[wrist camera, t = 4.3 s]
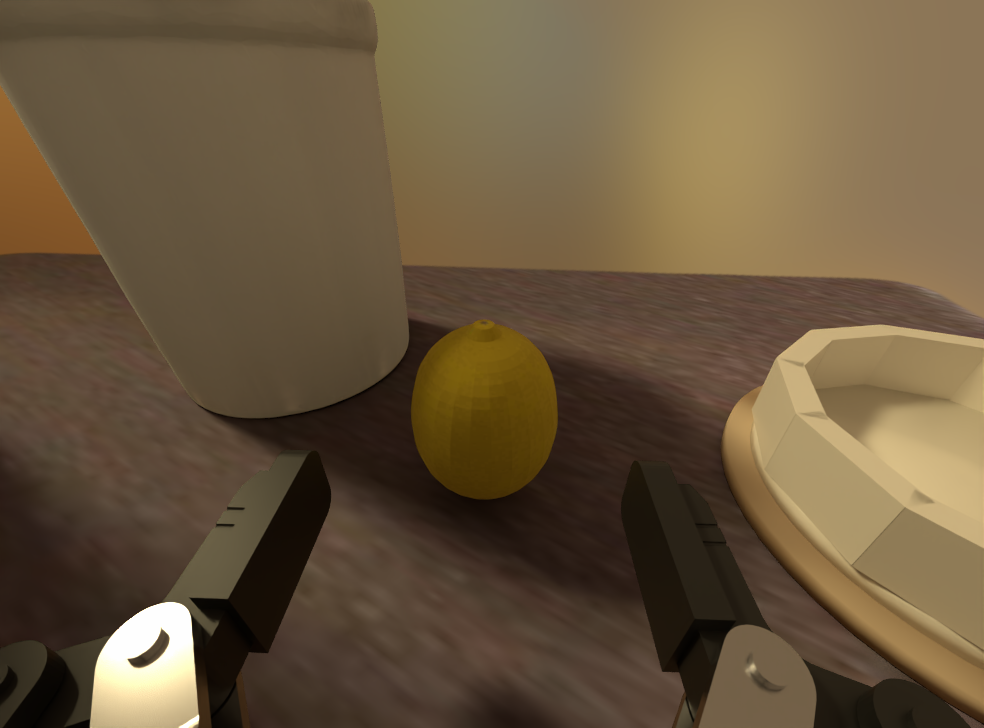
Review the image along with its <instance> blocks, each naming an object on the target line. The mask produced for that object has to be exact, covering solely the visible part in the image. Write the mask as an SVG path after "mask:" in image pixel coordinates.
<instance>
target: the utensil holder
mask: <svg viewBox="0 0 984 728" xmlns="http://www.w3.org/2000/svg"><path fill="white" fill-rule="evenodd" d="M377 42H378V36H377V25H376V19H375V13H374V10H373V7H372V5H371V3H370V2H369V1H368V0H0V85H1V87H2V88H3V90H4V92H5V93H6V95H7V97H8V99H9V100H10V102H11V104H12V106H13V107H14V109H15V110H16V112H17V114H18V116H19V117H20V119H21V121H22V123H23V124H24V126H25V128H26V129H27V131H28V133H29V134H30V136H31V138H32V139H33V141H34V143H35V144H36V146H37V148H38V150H39V151H40V153H41V154H42V156H43V158H44V160H45V161H46V163H47V165H48V166H49V168H50V170H51V171H52V173H53V175H54V176H55V178H56V180H57V181H58V183H59V185H60V186H61V188H62V190H63V191H64V193H65V195H66V196H67V198H68V200H69V201H70V203H71V205H72V206H73V208H74V209H75V211H76V213H77V215H78V216H79V218H80V219H81V221H82V223H83V224H84V226H85V228H86V229H87V231H88V233H89V234H90V236H91V238H92V239H93V241H94V243H95V244H96V246H97V248H98V250H99V251H100V253H101V255H102V256H103V258H104V260H105V262H106V263H107V265H108V267H109V268H110V270H111V272H112V273H113V275H114V277H115V279H116V280H117V282H118V284H119V285H120V287H121V289H122V290H123V292H124V294H125V296H126V297H127V299H128V300H129V302H130V304H131V305H132V307H133V308H134V310H135V312H136V313H137V315H138V316H139V318H140V320H141V321H142V323H143V324H144V326H145V328H146V329H147V331H148V332H149V334H150V336H151V337H152V339H153V340H154V342H155V344H156V345H157V347H158V348H159V350H160V352H161V353H162V355H163V356H164V358H165V359H166V361H167V362H168V364H169V366H170V367H171V369H172V370H173V372H174V374H175V375H176V377H177V379H178V380H179V382H180V383H181V385H182V386H183V388H184V389H185V391H186V392H187V394H188V395H189V396H190V397H191V398H192V400H194V401H195V402H196V403H197V404H198V405H200V406H202V407H203V408H205V409H207V410H210V411H212V412H215V413H218V414H222V415H226V416H231V417H238V418H273V417H280V416H286V415H292V414H298V413H302V412H306V411H311V410H315V409H319V408H322V407H326V406H329V405H332V404H334V403H337V402H339V401H342V400H344V399H347V398H349V397H352V396H354V395H356V394H358V393H360V392H362V391H364V390H365V389H367V388H369V387H371V386H372V385H374V384H375V383H377V382H378V381H380V380H381V379H382V378H384V377H385V376H386V375H388V374H389V373H390V372H391V371H392V370H393V369H394V368H395V367H396V366H397V365H398V363H399V362H400V361H401V359H402V358H403V356H404V354H405V352H406V350H407V347H408V343H409V325H408V317H407V308H406V299H405V289H404V280H403V270H402V261H401V252H400V245H399V236H398V229H397V221H396V214H395V206H394V198H393V191H392V183H391V175H390V168H389V160H388V153H387V145H386V138H385V131H384V123H383V116H382V109H381V102H380V95H379V88H378V81H377V74H376V67H375V59H374V54H375V51H376V48H377Z"/></svg>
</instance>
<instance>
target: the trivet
mask: <svg viewBox="0 0 984 728" xmlns="http://www.w3.org/2000/svg"><path fill="white" fill-rule="evenodd" d="M762 387H763V386H760V387H758V388H756V389H754V390H752V391H751V392H749V393H748V394H746V395H745V396H743V397H742V399H741V400H740V401H739V402H738V403H737V404H736V405H735V407H734V408H733V410H732V412H731V414H730V416H729V418H728V420H727V423H726V425H725V427H724V431H723V435H722V439H721V459H722V464H723V469H724V474H725V476H726V479H727V482H728V484H729V487H730V490H731V492H732V494H733V496H734V498H735V500H736V502H737V504H738V506H739V507H740V509H741V511H742V513H743V515H744V517H745V518H746V520H747V521H748V522H749V524H750V525H751V527H752V528H753V530H754V531H755V533H756V534H757V536H758V537H759V538H760V540H761V541H762V543H763V544H764V545H765V546H766V547H767V549H768V550H769V551H770V552H771V553H772V555H773V556H774V557H775V558H776V559H777V561H778V562H779V563H780V564H781V565H782V567H783V568H784V569H785V570H786V571H787V572H788V573H789V574H790V575H791V576H792V577H793V578H794V579H795V580H796V581H797V582H798V583H799V585H800V586H801V587H802V588H803V589H804V590H805V591H806V592H807V593H808V594H809V595H810V596H811V597H812V598H813V599H814V600H815V601H816V602H817V603H819V604H820V605H821V606H822V607H823V608H824V609H825V610H826V611H828V612H829V613H830V614H831V615H832V616H833V617H834V618H835V619H836V620H838V621H839V622H840V623H841V624H842V625H843V626H844V627H845V628H847V629H848V630H849V631H850V632H851V633H852V634H854V635H855V636H856V637H858V638H859V639H860V640H861V641H863V642H864V643H865V644H866V645H868V646H869V647H870V648H872V649H873V650H874V651H875V652H877V653H878V654H879V655H881V656H882V657H883V658H884V659H886V660H887V661H888V662H890V663H891V664H892V665H893V666H895V667H896V668H898V669H899V670H901V671H902V672H903V673H905V674H906V675H908V676H909V677H911V678H912V679H914V680H915V681H917V682H918V683H920V684H921V685H922V686H924V687H925V688H927V689H928V690H930V691H931V692H933V693H934V694H936V695H937V696H939V697H940V698H941V699H943V700H944V701H946V702H948V703H949V704H951V705H953V706H954V707H956V708H958V709H959V710H961V711H963V712H964V713H966V714H968V715H969V716H971V717H973V718H974V719H976V720H978V721H979V722H981V723H983V724H984V670H982V669H980V668H978V667H976V666H974V665H973V664H971V663H969V662H967V661H965V660H963V659H962V658H960V657H959V656H957V655H955V654H954V653H952V652H951V651H949V650H947V649H946V648H944V647H943V646H941V645H939V644H938V643H936V642H935V641H933V640H931V639H930V638H928V637H927V636H925V635H923V634H922V633H920V632H919V631H917V630H916V629H914V628H913V627H912V626H910V625H909V624H907V623H906V622H905V621H903V620H902V619H900V618H899V617H897V616H896V615H895V614H893V613H892V612H890V611H889V610H888V609H886V608H885V607H883V606H882V605H881V604H879V603H878V602H877V601H875V600H874V599H873V598H872V597H870V596H869V595H868V594H867V593H865V592H864V591H863V590H862V589H860V588H859V587H858V586H857V585H856V584H854V583H853V582H852V581H851V580H849V579H848V578H847V577H846V576H844V575H843V574H842V573H841V572H840V571H839V570H838V569H837V568H836V567H835V566H834V565H832V564H831V563H830V562H829V561H828V560H827V559H826V558H825V557H824V556H823V555H822V554H821V553H819V552H818V551H817V550H816V549H815V548H814V547H813V546H812V544H811V543H810V542H809V541H808V540H807V539H806V538H805V537H804V536H803V535H802V534H801V533H800V532H799V531H798V530H797V528H796V527H795V526H794V525H793V524H792V523H791V521H790V520H789V519H788V518H787V516H786V515H785V514H784V512H783V511H782V510H781V509H780V507H779V506H778V505H777V504H776V502H775V500H774V499H773V497H772V496H771V494H770V493H769V491H768V489H767V488H766V486H765V485H764V483H763V481H762V479H761V476H760V474H759V472H758V470H757V468H756V466H755V462H754V459H753V455H752V452H751V445H750V432H751V425H752V422H753V420H754V418H753V414H752V408H753V406H754V404H755V402H756V399H757V397H758V395H759V393H760V391H761V389H762Z"/></svg>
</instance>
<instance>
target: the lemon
mask: <svg viewBox="0 0 984 728" xmlns="http://www.w3.org/2000/svg"><path fill="white" fill-rule="evenodd" d="M411 420H412V427H413V432H414V438H415V443H416V446H417V449H418V452H419V454H420V456H421V458H422V460H423V461H424V463H425V465H426V466H427V468H428V470H429V471H430V473H431V474H432V475H433V476H434V477H435V478H436V479H437V480H438V481H439V482H440V483H441V484H442V485H444V486H445V487H446V488H448V489H449V490H451V491H453V492H455V493H457V494H459V495H461V496H465V497H470V498H474V499H495V498H500V497H505V496H507V495H510V494H512V493H514V492H516V491H519V490H520V489H521V488H522V487H524V486H525V485H526V484H528V483H529V482H530V481H532V480H533V479H534V477H535V476H536V475H537V474H538V472H539V471H540V470H541V468H542V467H543V466H544V464H545V463H546V461H547V459H548V457H549V454H550V451H551V448H552V445H553V442H554V439H555V435H556V430H557V422H558V411H557V397H556V389H555V384H554V380H553V376H552V373H551V371H550V368H549V366H548V364H547V362H546V360H545V358H544V356H543V355H542V353H541V352H540V350H539V349H538V348H537V347H536V346H535V345H534V344H533V343H532V342H531V341H530V340H529V339H527V338H526V337H525V336H523V335H522V334H520V333H518V332H517V331H515V330H513V329H510V328H508V327H505V326H502V325H497V324H494V323H493V322H492V321H490V320H478V321H476V322H474V323H473V324H471V325H467V326H464V327H461V328H458V329H456V330H454V331H452V332H450V333H448V334H447V335H446V336H444V337H443V338H442V339H440V340H439V341H438V342H437V343H435V345H434V346H433V347H432V348H431V349H430V350H429V352H428V353H427V355H426V356H425V358H424V359H423V361H422V363H421V364H420V367H419V369H418V372H417V376H416V380H415V385H414V389H413V395H412V403H411Z"/></svg>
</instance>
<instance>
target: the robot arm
mask: <svg viewBox="0 0 984 728" xmlns="http://www.w3.org/2000/svg"><path fill="white" fill-rule="evenodd" d="M330 503H331V489H330V485H329V483H328V480H327V477H326V474H325V471H324V468H323V465H322V462H321V459H320V456H319V454H318V452H316V451H313V450H284V451H282V452H281V453H280V454H279V455H278V457H277V458H276V460H275V462H274V463H273V465H272V466H271V468H270V470H269V471H259V472H258V473H257V474H256V475H254V476H253V477H252V478H251V479H250V480H249V481H247V482H246V483H245V484H244V485H243V486H242V487H240V489H239V490H238V492H237V493H236V495H235V496H234V498H233V499H232V501H231V502H230V504H229V505H228V507H227V511H224V513H223V514H222V516H221V517H220V519H219V520H218V521H217V523H216V527H215V528H213V529H212V530H211V532H210V533H209V535H208V536H207V538H206V539H205V541H204V542H203V544H202V545H201V547H200V548H199V550H198V551H197V553H196V554H195V555H194V557H193V558H192V560H191V561H190V563H189V564H188V566H187V567H186V569H185V570H184V572H183V573H182V575H181V576H180V578H179V579H178V581H177V582H176V584H175V585H174V587H173V588H172V589H171V591H170V592H169V594H168V595H167V596H166V598H165V599H164V600H163V601H162V602H161V603H160V604H158V605H155V606H152V607H150V608H148V609H146V610H144V611H142V612H140V613H138V614H137V615H135V616H134V617H132V618H131V619H130V620H128V621H127V622H126V623H125V624H123V625H122V626H121V627H120V628H119V629H118V630H117V631H116V632H115V633H114V634H113V635H110V636H106V637H103V638H100V639H96V640H93V641H89V642H86V643H82V644H79V645H75V646H72V647H68V648H65V649H62V650H58V651H55V652H54V651H52V650H51V649H49V648H48V647H46V646H45V645H44V644H42V643H41V642H38V641H33V640H27V641H20V642H16V643H13V644H10V645H7V646H5V647H3V648H1V649H0V728H251V727H250V721H249V715H248V708H247V702H246V696H245V690H244V683H243V677H242V673H241V671H240V670H241V668H242V666H243V664H244V661H245V659H246V657H247V655H248V653H249V652H254V653H268V652H269V649H270V647H271V645H272V642H273V640H274V638H275V635H276V633H277V631H278V628H279V626H280V624H281V621H282V619H283V617H284V614H285V612H286V610H287V607H288V605H289V603H290V600H291V598H292V596H293V593H294V591H295V589H296V586H297V584H298V582H299V579H300V577H301V575H302V572H303V570H304V568H305V565H306V563H307V561H308V558H309V556H310V554H311V551H312V549H313V547H314V544H315V542H316V540H317V537H318V535H319V533H320V530H321V528H322V526H323V523H324V521H325V519H326V516H327V514H328V511H329V508H330ZM621 514H622V521H623V526H624V529H625V533H626V537H627V541H628V544H629V548H630V552H631V556H632V560H633V563H634V567H635V571H636V575H637V578H638V582H639V586H640V590H641V594H642V597H643V601H644V605H645V609H646V612H647V616H648V620H649V624H650V627H651V631H652V635H653V639H654V643H655V646H656V650H657V654H658V658H659V661H660V665H661V669H662V672H679V673H680V676H681V679H682V683H683V686H684V689H685V692H684V694H683V696H682V699H681V702H680V705H679V708H678V711H677V714H676V717H675V720H674V723H673V726H672V728H971V727H970V726H969V725H968V724H967V723H966V722H965V720H964V719H963V718H962V717H961V716H960V715H959V714H958V713H957V712H956V711H955V710H954V709H952V708H951V707H950V706H949V705H948V704H947V703H945V702H944V701H943V700H941V699H940V698H939V697H937V696H936V695H935V694H933V693H931V692H930V691H928V690H926V689H925V688H923V687H921V686H919V685H917V684H914V683H912V682H909V681H906V680H901V679H886V680H883V681H881V682H880V683H878V684H877V685H875V686H874V687H870V686H868V685H865V684H862V683H860V682H857V681H854V680H852V679H849V678H846V677H844V676H841V675H838V674H836V673H833V672H831V671H828V670H825V669H823V668H820V667H818V666H815V665H813V664H811V663H809V662H807V661H806V660H804V659H802V658H801V657H800V656H799V655H798V654H797V652H796V651H795V650H794V649H793V648H792V647H791V646H790V645H789V644H788V643H786V642H785V641H784V640H783V639H782V638H780V637H779V636H777V635H776V634H774V633H773V632H772V631H771V630H770V628H769V627H768V625H767V624H766V622H765V620H764V619H763V617H762V615H761V613H760V611H759V609H758V607H757V605H756V603H755V600H754V598H753V596H752V594H751V592H750V590H749V588H748V586H747V584H746V582H745V580H744V578H743V576H742V574H741V571H740V569H739V567H738V565H737V563H736V561H735V559H734V557H733V555H732V553H731V551H730V549H729V547H727V546H726V540H725V538H724V536H723V534H722V532H721V530H720V528H718V527H717V522H716V520H715V518H714V516H713V514H712V512H711V509H710V507H709V505H708V503H707V502H706V501H705V500H704V499H703V498H702V497H701V496H700V495H699V494H698V492H697V491H696V490H695V489H694V488H693V487H692V486H691V485H690V484H677V481H676V479H675V477H674V474H673V472H672V470H671V468H670V466H669V464H668V463H667V462H664V461H634V462H633V464H632V466H631V470H630V473H629V476H628V480H627V483H626V487H625V490H624V493H623V497H622V502H621Z"/></svg>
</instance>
